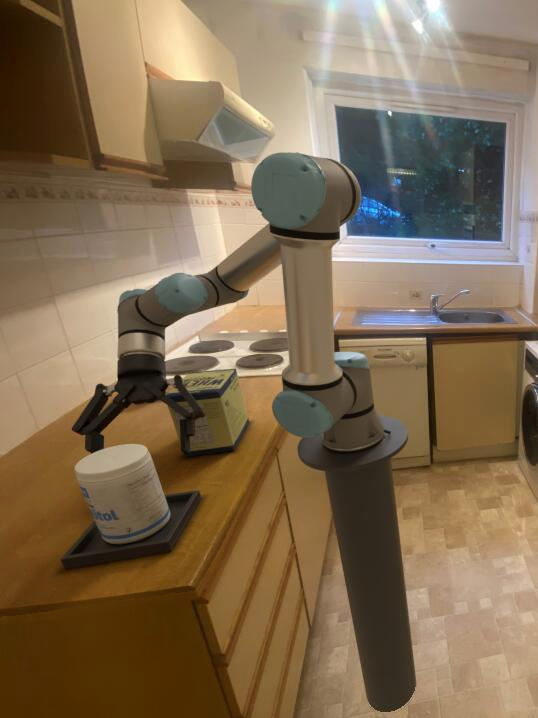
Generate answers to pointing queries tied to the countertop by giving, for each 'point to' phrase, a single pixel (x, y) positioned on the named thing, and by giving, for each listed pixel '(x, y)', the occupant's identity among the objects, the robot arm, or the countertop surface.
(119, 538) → the supplement tub
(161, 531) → the pad
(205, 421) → the protein box
